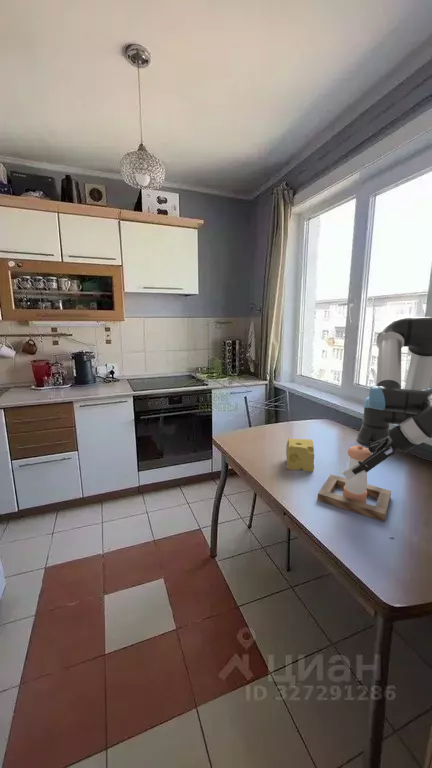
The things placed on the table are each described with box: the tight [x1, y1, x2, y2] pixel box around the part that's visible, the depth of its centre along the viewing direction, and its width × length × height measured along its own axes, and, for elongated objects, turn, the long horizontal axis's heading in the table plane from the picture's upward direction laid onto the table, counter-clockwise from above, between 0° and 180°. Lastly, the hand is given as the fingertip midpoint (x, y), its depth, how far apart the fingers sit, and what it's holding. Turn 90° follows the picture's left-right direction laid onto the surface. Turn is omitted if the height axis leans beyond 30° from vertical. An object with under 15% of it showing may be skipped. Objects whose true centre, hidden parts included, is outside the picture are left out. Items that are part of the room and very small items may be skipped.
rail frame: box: [317, 474, 392, 523], centre depth 106 cm, size 20×16×2 cm
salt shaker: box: [342, 444, 371, 503], centre depth 104 cm, size 7×7×19 cm
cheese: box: [285, 437, 315, 473], centre depth 129 cm, size 10×11×10 cm
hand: (349, 467), depth 105 cm, fingers open, 13 cm apart
